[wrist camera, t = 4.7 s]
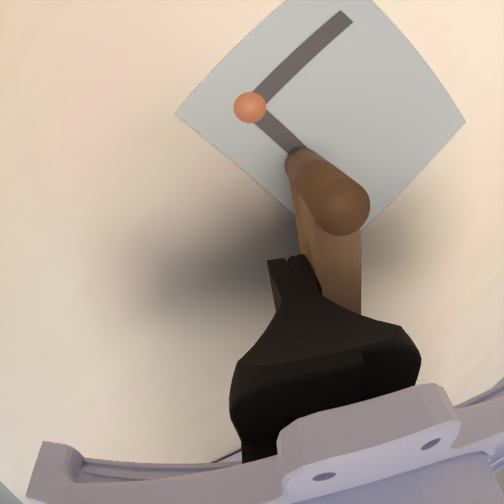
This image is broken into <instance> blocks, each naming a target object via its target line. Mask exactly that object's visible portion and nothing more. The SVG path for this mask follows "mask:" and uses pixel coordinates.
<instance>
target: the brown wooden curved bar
mask: <svg viewBox="0 0 504 504" xmlns="http://www.w3.org/2000/svg"><path fill="white" fill-rule="evenodd" d="M285 172H286V174H287V176H288V177H289V181H290V187H291V193H292V200H293V207H294V213H295V220H296V227H297V234H298V241H299V249H300V255H302V254H304V255H305V256H306V257H307V259H308V261H309V262H310V264H311V266H312V268H313V271H314V274H315V278H316V281H317V285H318V288H319V291H320V293H321V294H322V295H323V296H325V297H326V298H328V299H329V300H331V301H332V302H334V303H336V304H338V305H340V306H342V307H344V308H346V309H348V310H350V311H352V312H355V313H357V314H360V315H361V248H360V228H361V227H362V226H363V224H364V223H365V222H366V220H367V218H368V216H369V212H370V199H369V196H368V194H367V192H366V190H365V189H364V188H363V187H362V186H361V185H360V184H358V183H357V182H356V181H354V180H353V179H352V178H350V177H349V176H348V175H346V174H345V173H344V172H342V171H341V170H340V169H338V168H337V167H335V166H334V165H333V164H331V163H330V162H328V161H327V160H326V159H324V158H323V157H321V156H320V155H319V154H317V153H316V152H314V151H313V150H311V149H308V148H299V149H296V150H294V151H292V152H291V153H290V154H289V155H288V157H287V159H286V161H285Z"/></svg>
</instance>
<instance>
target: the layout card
mask: <svg viewBox="0 0 504 504" xmlns="http://www.w3.org/2000/svg"><path fill="white" fill-rule="evenodd" d="M175 115H176V116H177V117H178V118H180V119H181V120H182V121H183V122H185V123H186V124H187V125H189V126H190V127H191V128H192V129H193V130H195V131H196V132H197V133H198V134H200V135H201V136H202V137H203V138H205V139H206V140H207V141H208V142H209V143H211V144H212V145H213V146H214V147H216V148H217V149H218V150H219V151H220V152H222V153H223V154H224V155H225V156H226V157H228V158H229V159H230V160H231V161H232V162H234V163H235V164H236V165H237V166H238V167H239V168H241V169H242V170H243V171H244V172H245V173H247V174H248V175H249V176H250V177H251V178H252V179H254V180H255V181H256V182H257V183H258V184H259V185H260V186H262V187H263V188H264V189H265V190H266V191H267V192H268V193H270V194H271V195H272V196H273V197H274V198H275V199H276V200H278V201H279V202H280V203H281V204H282V205H283V206H284V207H285V208H287V209H288V210H289V211H290V212H291V213H292V214H293V215H294V216H295V213H294V207H293V200H292V193H291V187H290V181H289V177H288V176H287V174H286V172H285V161H286V159H287V157H288V155H289V154H290V153H291V152H292V151H294V150H296V149H299V148H308V149H311V150H313V151H314V152H316V153H317V154H319V155H320V156H321V157H323V158H324V159H326V160H327V161H328V162H330V163H331V164H333V165H334V166H335V167H337V168H338V169H340V170H341V171H342V172H344V173H345V174H346V175H348V176H349V177H350V178H352V179H353V180H354V181H356V182H357V183H358V184H360V185H361V186H362V187H363V188H364V189H365V190H366V192H367V194H368V196H369V199H370V212H369V216H368V218H367V220H366V222H365V223H364V224H363V226H362V227H361V228H360V232H361V231H362V230H363V229H364V228H365V227H366V226H367V225H368V224H369V223H370V222H371V221H372V220H373V219H374V218H375V217H376V216H377V215H378V214H379V213H380V212H381V211H382V210H383V209H384V208H385V207H386V206H387V205H388V204H389V203H390V202H391V201H392V200H393V199H394V198H395V197H396V196H397V195H398V194H399V193H400V192H401V191H402V190H403V189H404V188H405V187H406V186H407V185H408V184H409V183H410V182H411V181H412V180H413V179H414V178H415V177H416V176H417V175H418V174H419V173H420V172H421V170H422V169H423V168H424V167H425V166H426V165H427V164H428V163H429V162H430V161H431V160H432V159H433V158H434V157H435V156H436V155H437V153H438V152H439V151H440V150H441V149H442V148H443V147H444V146H445V145H446V144H447V143H448V142H449V140H450V139H451V138H452V137H453V136H454V135H455V134H456V133H457V132H458V131H459V129H460V128H461V127H462V126H463V125H464V124H465V123H466V121H465V119H464V118H463V116H462V114H461V113H460V111H459V109H458V108H457V106H456V105H455V103H454V102H453V100H452V98H451V97H450V95H449V94H448V92H447V91H446V89H445V88H444V86H443V85H442V84H441V82H440V81H439V79H438V78H437V76H436V75H435V74H434V72H433V71H432V70H431V68H430V67H429V66H428V64H427V63H426V62H425V60H424V59H423V58H422V56H421V55H420V54H419V53H418V51H417V50H416V49H415V48H414V46H413V45H412V44H411V43H410V42H409V40H408V39H407V38H406V37H405V36H404V34H403V33H402V32H401V31H400V30H399V29H398V28H397V26H396V25H395V24H394V23H393V22H392V21H391V20H390V19H389V18H388V17H387V16H386V14H385V13H384V12H383V11H382V10H381V9H380V8H379V7H378V6H377V5H376V4H375V3H374V2H373V1H372V0H287V1H285V2H284V3H283V4H282V5H281V6H280V7H278V8H277V9H276V10H275V11H274V12H273V13H271V14H270V15H269V16H268V17H267V18H266V19H265V20H264V21H262V22H261V23H260V24H259V25H258V26H257V27H256V28H255V29H254V30H253V31H252V32H251V33H249V34H248V35H247V36H246V37H245V38H244V39H243V40H242V41H241V42H240V43H239V44H238V45H237V46H236V47H235V48H234V49H233V50H232V51H231V52H230V53H229V54H228V55H227V56H226V57H225V58H224V59H223V60H222V61H221V62H220V63H219V64H218V65H217V66H216V67H215V68H214V70H213V71H212V72H211V73H210V74H209V75H208V76H207V77H206V78H205V79H204V80H203V81H202V82H201V84H200V85H199V86H198V87H197V88H196V89H195V90H194V91H193V93H192V94H191V95H190V96H189V97H188V98H187V99H186V101H185V102H184V103H183V104H182V105H181V106H180V108H179V109H178V110H177V111H176V112H175Z"/></svg>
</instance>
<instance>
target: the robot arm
mask: <svg viewBox="0 0 504 504" xmlns="http://www.w3.org/2000/svg"><path fill="white" fill-rule="evenodd" d="M267 264H268V269H269V275H270V280H271V286H272V292H273V297H274V303H275V308H276V313H275V315H274V317H273V319H272V320H271V322H270V324H269V326H268V327H267V329H266V330H265V332H264V333H263V334H262V336H261V337H260V338H259V340H258V341H257V342H256V343H255V345H254V346H253V347H252V348H251V349H250V350H249V351H248V352H247V353H246V354H245V355H244V356H243V357H242V358H241V359H240V360H239V361H238V362H237V364H236V368H235V371H234V374H233V378H232V383H231V388H230V396H229V412H230V417H231V421H232V423H233V425H234V427H235V429H236V431H237V433H238V435H239V437H240V440H241V448H242V451H240V452H238V453H236V454H234V455H232V456H230V457H227V458H225V459H223V460H221V461H219V462H216V463H196V464H156V463H134V462H120V461H110V460H100V459H92V458H85V457H83V456H82V455H81V454H80V452H78V451H77V450H76V449H75V448H73V447H71V446H69V445H65V444H60V443H54V442H48V441H43V443H42V446H41V448H40V451H39V454H38V457H37V460H36V463H35V466H34V470H33V473H32V476H31V479H30V483H29V486H28V490H27V493H26V498H27V499H28V500H30V501H31V502H33V503H34V504H504V496H503V494H502V491H501V489H500V487H499V484H498V482H497V480H496V477H495V475H494V473H495V472H496V471H497V470H499V469H501V468H502V467H504V382H503V383H501V384H499V385H497V386H496V387H493V388H491V389H490V390H488V391H486V392H484V393H482V394H480V395H478V396H475V397H473V398H471V399H469V400H467V401H465V402H463V403H460V404H458V405H456V406H454V407H453V405H452V403H451V401H450V399H449V397H448V396H447V394H446V392H445V390H444V388H443V387H441V386H439V385H437V384H435V383H426V384H421V385H415V383H416V380H417V377H418V374H419V370H420V367H421V356H420V353H419V351H418V349H417V347H416V346H415V344H414V342H413V341H412V340H411V338H410V337H409V336H408V334H407V333H406V332H405V331H404V330H403V328H402V327H401V326H399V325H394V324H390V323H386V322H382V321H377V320H374V319H371V318H368V317H365V316H362V315H360V314H357V313H355V312H352V311H350V310H348V309H346V308H344V307H342V306H340V305H338V304H336V303H334V302H332V301H331V300H329V299H328V298H326V297H325V296H323V295H322V294H321V293H320V291H319V288H318V285H317V281H316V278H315V274H314V271H313V268H312V266H311V264H310V262H309V261H308V259H307V257H306V256H305V255H304V254H302V255H296V256H291V257H289V259H288V263H287V261H286V260H285V259H283V258H280V259H275V260H269V261H267Z"/></svg>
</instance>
